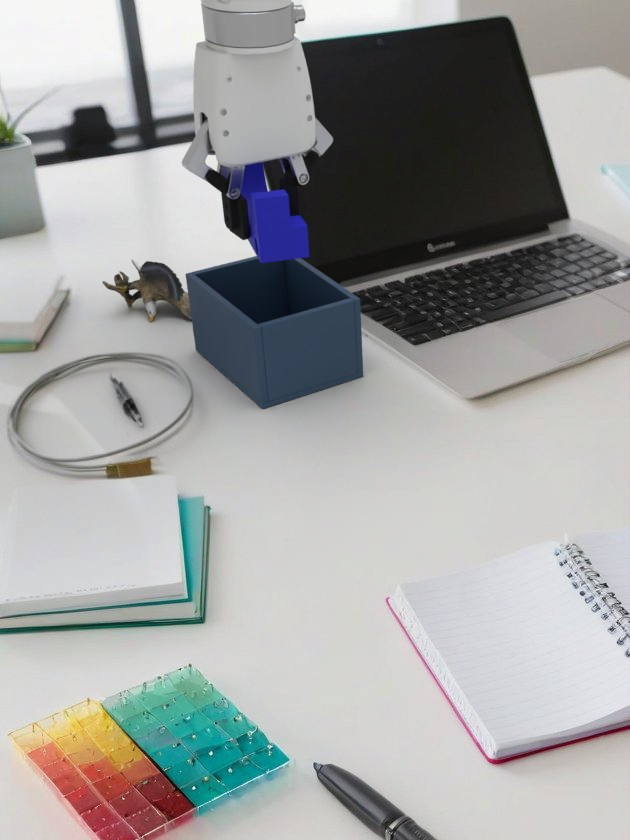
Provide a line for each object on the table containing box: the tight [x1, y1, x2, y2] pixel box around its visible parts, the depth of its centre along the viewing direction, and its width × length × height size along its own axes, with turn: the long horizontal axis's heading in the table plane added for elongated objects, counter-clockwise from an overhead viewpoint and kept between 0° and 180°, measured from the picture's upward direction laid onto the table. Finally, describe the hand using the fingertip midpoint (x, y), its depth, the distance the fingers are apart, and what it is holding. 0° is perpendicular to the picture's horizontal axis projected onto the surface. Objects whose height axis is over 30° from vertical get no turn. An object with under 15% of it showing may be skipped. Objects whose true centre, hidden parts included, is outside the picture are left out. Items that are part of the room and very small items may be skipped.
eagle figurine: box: [102, 259, 192, 323], centre depth 125 cm, size 8×7×9 cm
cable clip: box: [241, 162, 310, 263], centre depth 108 cm, size 12×4×6 cm, turn 22°
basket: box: [185, 255, 364, 410], centre depth 116 cm, size 11×14×9 cm
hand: (266, 226), depth 109 cm, fingers closed on cable clip, 5 cm apart
